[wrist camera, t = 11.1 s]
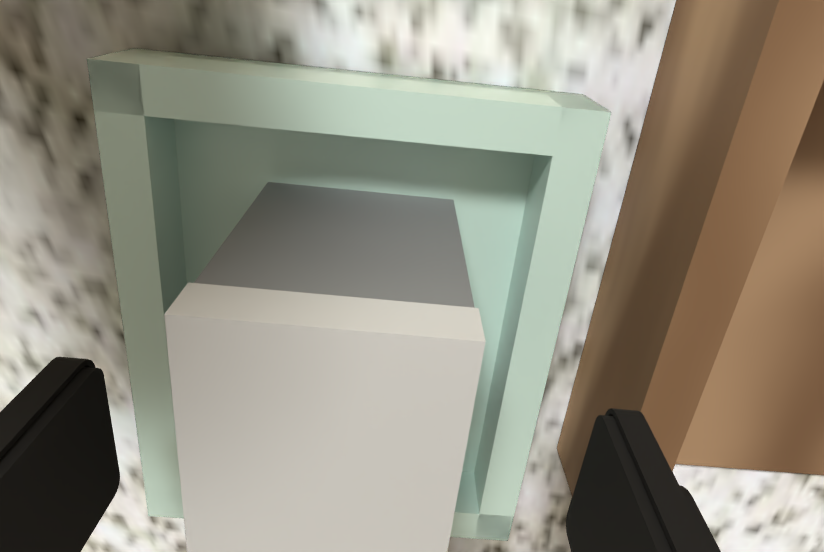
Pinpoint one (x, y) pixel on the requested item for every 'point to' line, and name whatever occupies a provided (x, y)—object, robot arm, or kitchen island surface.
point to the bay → (719, 250)
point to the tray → (354, 170)
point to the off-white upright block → (326, 376)
